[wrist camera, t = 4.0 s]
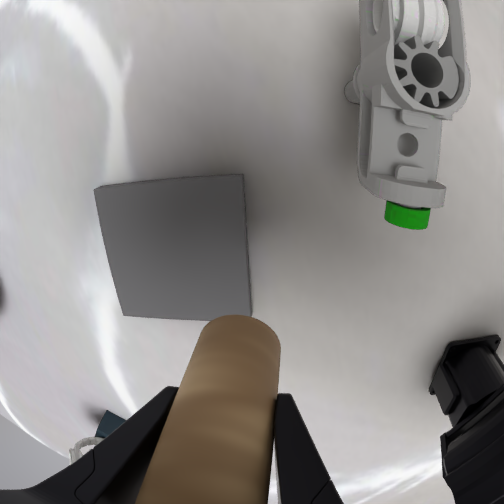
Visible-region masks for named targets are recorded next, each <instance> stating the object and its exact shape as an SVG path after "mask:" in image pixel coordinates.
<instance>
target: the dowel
mask: <svg viewBox="0 0 504 504" xmlns="http://www.w3.org/2000/svg"><path fill="white" fill-rule="evenodd" d="M280 352H281V347H280V342H279V339H278V337H277V335H276V334H275V332H274V331H273V330H272V329H271V328H270V327H269V326H268V325H266V324H265V323H263V322H261V321H260V320H258V319H255V318H253V317H249V316H245V315H225V316H221V317H218V318H215V319H214V320H212V321H210V322H209V323H208V324H207V325H206V326H205V327H204V328H203V330H202V332H201V334H200V337H199V339H198V342H197V344H196V347H195V349H194V352H193V354H192V357H191V359H190V362H189V364H188V367H187V369H186V372H185V374H184V377H183V379H182V382H181V384H180V387H179V389H178V392H177V394H176V397H175V399H174V402H173V405H172V407H171V410H170V412H169V415H168V417H167V420H166V423H165V425H164V428H163V430H162V433H161V435H160V438H159V441H158V443H157V446H156V448H155V451H154V454H153V456H152V459H151V462H150V464H149V467H148V470H147V472H146V475H145V477H144V480H143V483H142V485H141V488H140V491H139V494H138V496H137V499H136V502H135V504H268V494H269V485H270V475H271V465H272V455H273V444H274V419H275V409H276V399H277V395H278V382H279V367H280Z"/></svg>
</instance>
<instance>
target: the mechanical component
mask: <svg viewBox="0 0 504 504" xmlns="http://www.w3.org/2000/svg"><path fill="white" fill-rule="evenodd" d="M443 1H444V3H445V5H446V7H447V10H448V15H449V29H448V34H447V37H446V40H445V42H444V44H443V45H442V46H441V48H440V49H438V48H439V41H440V39H441V37H442V34H443V30H444V11H443V6H442V3H441V0H359V15H360V51H361V63H360V64H359V65H358V66H357V68H356V69H355V72H354V75H353V80H352V81H350V82H349V83H348V84H347V85H346V87H345V96H346V98H347V99H348V101H350V102H352V103H358V104H360V113H359V133H358V148H357V169H358V177H359V180H360V183H361V184H362V185H363V186H364V187H365V188H366V189H367V190H368V191H369V192H371V193H372V194H373V195H375V196H377V197H379V198H382V199H385V200H387V203H386V210H385V220H386V221H388V222H389V223H391V224H394V225H396V226H399V227H403V228H408V229H416V230H420V229H426V228H427V226H428V221H429V215H430V210H431V209H430V208H440V207H442V206H443V203H444V197H445V191H446V187H445V186H444V185H442V184H440V183H438V182H436V179H437V171H438V162H439V153H440V142H441V129H442V120H452V114H453V113H455V112H457V111H458V110H459V109H460V108H461V107H462V106H463V105H464V103H465V102H466V100H467V98H468V95H469V92H470V87H471V77H470V70H469V67H468V64H467V59H466V42H465V31H464V21H463V13H462V6H461V0H443Z"/></svg>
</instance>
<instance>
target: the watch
mask: <svg viewBox="0 0 504 504" xmlns="http://www.w3.org/2000/svg"><path fill="white" fill-rule="evenodd" d="M125 421H126V420H124V419H122V418H120V417H119V416H117V415H115V414H113V413H111V412H109V411H108V410H107V411H106V413H105V415H104V417H103V419H102V421H101V422H100V424H99V426H98V428H97V431H96V435H95V437H88V438H84V439H82V440H80V441H78V442H77V443H76V444H75V447H74V449H71V448H70V452H69V457H70V465H71V464H72V463H74V462H75V461H77V460H78V459H79V458H81V457H82V456H83V455H82V453H81V451H80V450H79V449H81V447H84V446H87V445H93V444H94V445H97V444H99V443H100V442H101V441H102V440H103V439H105V438H106V437H107V436H108V435H110V434H111V433H112V432H113V431H115V430H116V429H117V428H118V427H119V426H121V425H122V424H123V423H124V422H125Z"/></svg>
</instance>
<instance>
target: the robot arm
mask: <svg viewBox="0 0 504 504" xmlns="http://www.w3.org/2000/svg"><path fill="white" fill-rule="evenodd" d="M500 341H501V338H500V337H499V336H498V335H495V336H490V337H484V338H478V339H472V340H466V341H459V342H453V343H450V344H449V345H448V346H447V348H446V350H445V353H444V355H443V358H442V360H441V363H440V365H439V368H438V370H437V372H436V375H435V377H434V379H433V382H432V384H431V386H430V388H429V392H430V394H431V395H435V394H436V396H437V398H438V401H439V403H440V406H441V408H442V411H443V413H444V415H448V416H449V418H450V421H451V424H452V426H453V428H452V429H451V430H449V431H448V432H447V433H444V434H443V435H441V436H440V439H441V453H442V470H443V478H444V479H445V481H446V483H447V485H448V486H449V487H450V489H451V491H452V493H453V496H454V500H455V504H504V364H503V363H502V361H501V360H500V358H499V357H498V355H497V354H496V350H497V348H498V345H499V343H500ZM178 389H179V387H173V386H167V387H165V388H164V389H163V390H162V391H161V392H160V393H158V394H157V395H156V396H155V397H154V398H153V399H151V400H150V401H149V402H148V403H147V404H146V405H144V406H143V407H142V408H141V409H140V410H139V411H137V412H136V413H135V414H134V415H133V416H131V417H130V418H129V419H128V420H127V421H125V422H124V423H123V424H122V425H121V426H119V427H118V428H117V429H116V430H115V431H113V432H112V433H111V434H110V435H108V436H107V437H106V438H105V439H103V440H102V441H101V442H100V443H99V444H97V445H96V446H95V447H94V448H93V449H91V450H90V451H88V452H87V453H86V454H85V455H83V456H82V457H81V458H79V459H78V460H77V461H75V462H74V463H72V464H71V465H69V466H68V467H66V468H65V469H63V470H61V471H60V472H58V473H56V474H55V475H53V476H51V477H50V478H48V479H46V480H44V481H43V482H41V483H39V484H37V485H35V486H33V487H30V488H27V489H21V490H0V504H135V502H136V499H137V496H138V494H139V491H140V488H141V485H142V483H143V480H144V477H145V475H146V472H147V470H148V467H149V464H150V462H151V459H152V456H153V454H154V451H155V448H156V446H157V443H158V441H159V438H160V435H161V433H162V430H163V428H164V425H165V423H166V420H167V417H168V415H169V412H170V410H171V407H172V405H173V402H174V399H175V397H176V394H177V392H178ZM274 442H275V467H276V480H277V493H278V504H344V503H343V501H342V499H341V498H340V496H339V494H338V492H337V490H336V488H335V486H334V484H333V482H332V480H330V479H331V478H330V476H329V474H328V472H327V470H326V468H325V466H324V463H323V461H322V459H321V457H320V455H319V453H318V451H317V449H316V447H315V444H314V442H313V440H312V438H311V436H310V434H309V432H308V429H307V427H306V425H305V423H304V421H303V419H302V416H301V414H300V412H299V410H298V408H297V406H296V403H295V401H294V399H293V397H292V395H291V394H289V393H279V394H278V395H277V399H276V409H275V419H274Z"/></svg>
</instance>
